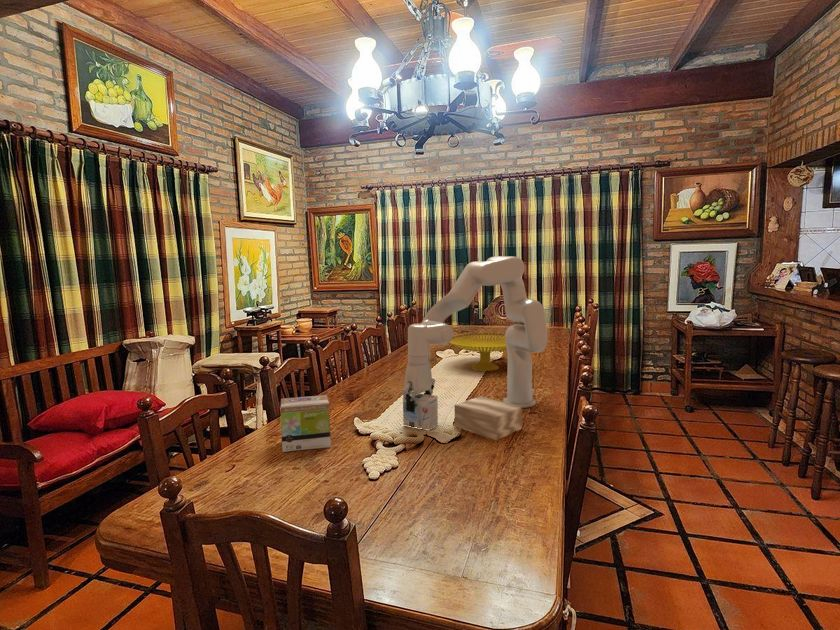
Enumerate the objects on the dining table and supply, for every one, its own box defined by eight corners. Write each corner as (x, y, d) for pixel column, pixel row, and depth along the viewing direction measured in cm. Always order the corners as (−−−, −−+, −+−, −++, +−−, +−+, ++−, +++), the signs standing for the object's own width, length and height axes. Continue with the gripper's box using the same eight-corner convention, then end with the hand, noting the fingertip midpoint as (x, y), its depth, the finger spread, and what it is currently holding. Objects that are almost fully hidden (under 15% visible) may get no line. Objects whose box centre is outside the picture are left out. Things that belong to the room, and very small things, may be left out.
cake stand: (535, 363, 254) (535, 335, 252) (507, 381, 220) (507, 350, 218) (467, 356, 275) (467, 330, 273) (432, 371, 241) (431, 342, 239)
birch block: (480, 417, 175) (480, 396, 174) (521, 429, 162) (521, 407, 161) (454, 427, 165) (454, 405, 164) (496, 441, 152) (496, 417, 151)
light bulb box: (402, 426, 166) (402, 397, 165) (412, 420, 172) (411, 391, 171) (430, 431, 161) (429, 401, 160) (438, 425, 167) (438, 395, 166)
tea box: (282, 454, 146) (279, 407, 144) (282, 441, 155) (279, 397, 153) (331, 447, 150) (329, 402, 148) (329, 436, 159) (327, 393, 157)
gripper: (425, 354, 172) (425, 399, 175) (394, 362, 159) (394, 412, 161) (442, 356, 168) (442, 403, 170) (411, 365, 154) (411, 416, 156)
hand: (419, 407), depth 165 cm, fingers open, 9 cm apart
